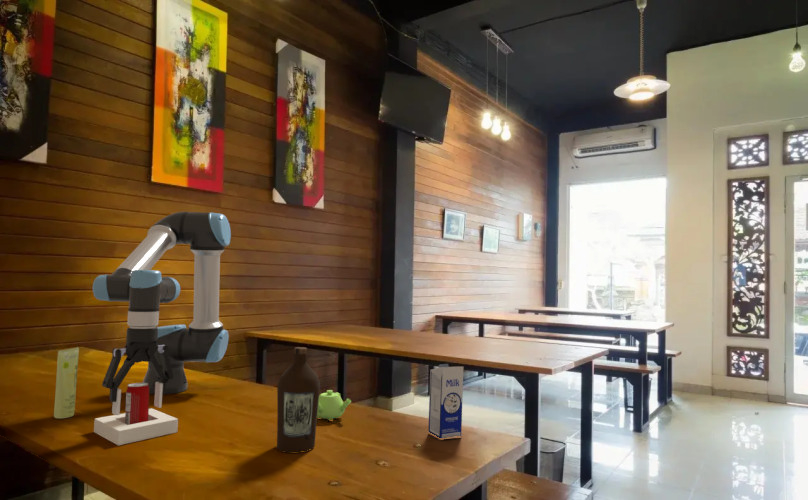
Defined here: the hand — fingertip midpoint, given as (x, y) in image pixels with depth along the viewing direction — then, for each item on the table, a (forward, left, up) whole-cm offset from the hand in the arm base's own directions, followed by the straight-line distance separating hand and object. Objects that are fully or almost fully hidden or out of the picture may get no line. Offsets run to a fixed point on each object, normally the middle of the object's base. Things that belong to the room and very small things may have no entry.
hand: (137, 410), depth 135 cm
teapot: (-45, +26, -6) cm, 52 cm away
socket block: (0, 0, -6) cm, 6 cm away
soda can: (0, 0, -5) cm, 5 cm away
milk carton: (-57, +61, -6) cm, 84 cm away
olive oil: (-22, +39, -6) cm, 45 cm away
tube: (+8, -28, -6) cm, 30 cm away
